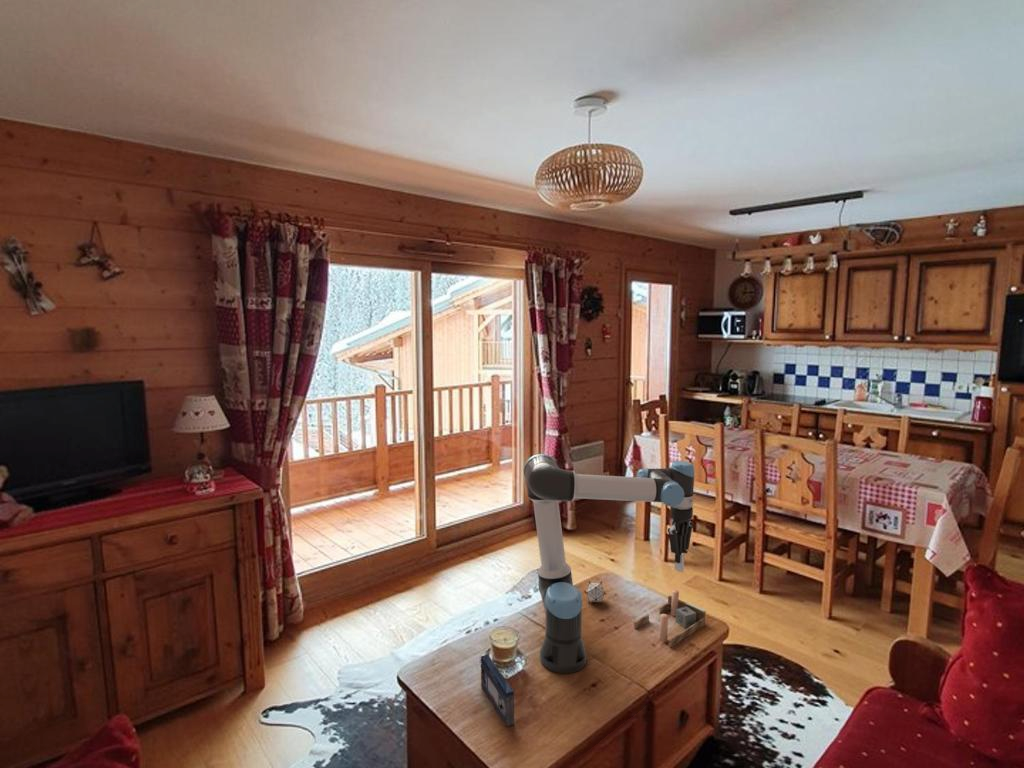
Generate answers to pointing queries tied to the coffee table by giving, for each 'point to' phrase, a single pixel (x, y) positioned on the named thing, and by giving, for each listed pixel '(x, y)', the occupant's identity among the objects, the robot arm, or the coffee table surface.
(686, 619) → the dice cube
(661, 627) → the pin near
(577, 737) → the coffee table surface
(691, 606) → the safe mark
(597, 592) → the game die
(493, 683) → the vhs cassette tape
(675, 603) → the pin far
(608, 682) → the coffee table surface
